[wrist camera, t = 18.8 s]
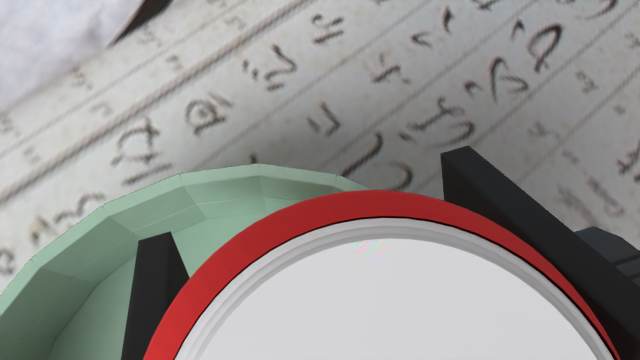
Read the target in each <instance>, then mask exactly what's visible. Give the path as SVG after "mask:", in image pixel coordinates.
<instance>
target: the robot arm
mask: <svg viewBox="0 0 640 360" xmlns="http://www.w3.org/2000/svg"><path fill="white" fill-rule="evenodd" d="M441 165H442V177H443V190H444V201H446V202H449V203H452V204H454V205H457V206H460V207H463V208H466V209H468V210H470V211H472V212H474V213H476V214H479V215H481V216H483V217H485V218H487V219H489V220H491V221H492V222H494V223H496V224H498V225H499V226H501V227H503V228H505V229H506V230H508V231H510V232H511V233H513V234H514V235H515V236H517V237H518V238H520V239H521V240H522V241H524V242H525V243H527V244H528V245H529V246H531V247H532V248H533V249H534V250H536V251H537V252H538V253H539V254H540V255H541V256H543V257H544V258H545V259H546V260H547V261H548V262H550V263H551V264H552V265H553V266H554V267H555V268H556V269H557V270H558V271H559V272H560V273H561V274H562V275H563V276H564V278H565V279H566V280H567V281H568V282H569V283H570V284H571V285H572V286H573V287H574V289H575V290H576V291H577V292H578V294H579V295H580V296H581V297H582V299H583V300H584V301H585V302H586V303H587V305H588V306H589V307H590V309H591V310H592V312H593V313H594V315H595V316H596V318H597V319H598V321H599V322H600V324H601V325H602V327H603V328H604V330H605V331H606V333H607V335H608V337H609V339H610V340H611V342H612V344H613V346H614V348H615V350H616V351H617V353H618V355H619V357H620V359H621V360H640V251H639V250H637V249H636V248H635V247H633V246H632V245H631V244H629V243H628V242H627V241H625V240H624V239H623V238H621V237H619V236H617V235H614V234H612V233H609V232H607V231H604V230H602V229H599V228H597V227H594V226H593V227H590V228H587V229H584V230H581V231H577V232H573V231H571V230H570V229H569V228H568V227H567V226H565V225H564V224H563V223H562V222H561V221H559V220H558V219H557V218H556V217H554V216H553V215H552V214H551V213H550V212H548V211H547V210H546V209H545V208H544V207H542V206H541V205H540V204H539V203H537V202H536V201H535V200H534V199H533V198H531V197H530V196H529V195H528V194H527V193H525V192H524V191H523V190H522V189H521V188H519V187H518V186H517V185H516V184H514V183H513V182H512V181H511V180H510V179H508V178H507V177H506V176H505V175H504V174H502V173H501V172H500V171H499V170H497V169H496V168H495V167H494V166H493V165H491V164H490V163H489V162H488V161H487V160H485V159H484V158H483V157H482V156H480V155H479V154H478V153H477V152H476V151H474V150H473V149H472V148H471V147H470V146H465V147H462V148H458V149H455V150H451V151H448V152H444V153H441ZM189 279H190V277H189V275H188V272H187V270H186V268H185V265H184V263H183V260H182V258H181V255H180V253H179V251H178V248H177V246H176V243H175V241H174V239H173V236H172V234H171V231H170V232H166V233H163V234H159V235H156V236H152V237H149V238H145V239H142V240H139V241H138V248H137V255H136V261H135V268H134V275H133V281H132V288H131V295H130V301H129V308H128V315H127V321H126V328H125V335H124V341H123V348H122V355H121V360H143V358H144V356H145V353H146V351H147V349H148V346H149V344H150V342H151V339H152V337H153V335H154V333H155V331H156V329H157V327H158V326H159V324H160V322H161V320H162V318H163V316H164V314H165V312H166V311H167V309H168V308H169V306H170V305H171V303H172V302H173V300H174V299H175V297H176V296H177V294H178V293H179V291H180V290H181V289H182V287H183V286H184V285H185V284H186V283H187V281H188V280H189Z"/></svg>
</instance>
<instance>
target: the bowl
mask: <svg viewBox="0 0 640 360" xmlns="http://www.w3.org/2000/svg"><path fill="white" fill-rule="evenodd" d="M361 190H372V189H370V188H367V187H365V186H363V185H360V184H358V183H356V182H354V181H351V180H349V179H347V178H344V177H342V176H340V175H336V174H332V173H325V172H318V171H311V170H304V169H297V168H290V167H283V166H276V165H269V164H262V163H260V164H259V163H256V164H248V165H240V166H232V167H225V168H217V169H209V170H201V171H193V172H185V173H181V174H177V175H174V176H172V177H169V178H167V179H165V180H162V181H160V182H157V183H155V184H152V185H150V186H147V187H145V188H142V189H140V190H138V191H135V192H133V193H130V194H128V195H125V196H123V197H120V198H118V199H115V200H113V201H111V202H108V203H106V204H104V205H102V206H100V207H99V208H98V209H96V210H95V211H93V212H92V213H91V214H89V215H88V216H87V217H85V218H84V219H83V220H81V221H80V222H79V223H77V224H76V225H75V226H73V227H72V228H71V229H69V230H68V231H67V232H65V233H64V234H62V235H61V236H60V237H58V238H57V239H56V240H54V241H53V242H52V243H50V244H49V245H48V246H46V247H45V248H44V249H42V250H41V251H40V252H38V253H37V254H36V255H34V256H33V257H32V259H30V260H29V261H28V262H27V263H26V264H25V266H24V267H23V268H22V269H21V270H20V272H19V273H18V274H17V275H16V277H15V278H14V279H13V280H12V281H11V283H10V284H9V285H8V286H7V287H6V289H5V290H4V291H3V292H2V294H1V295H0V360H121V355H122V348H123V341H124V335H125V328H126V321H127V315H128V308H129V301H130V295H131V288H132V281H133V275H134V268H135V261H136V255H137V248H138V241H139V240H142V239H145V238H149V237H152V236H156V235H159V234H163V233H166V232H170V231H171V234H172V236H173V239H174V241H175V243H176V246H177V248H178V251H179V253H180V255H181V258H182V260H183V263H184V265H185V268H186V270H187V272H188V275H189V277H190V278H191V276H192V275H193V274H194V273H195V272H196V270H197V269H198V268H199V267H200V266H201V265H202V264H203V263H204V262H205V261H206V260H207V259H208V258H209V257H210V256H211V255H212V254H213V253H214V252H215V251H217V250H218V249H219V248H220V247H221V246H223V245H224V244H225V243H226V242H228V241H229V240H230V239H231V238H232V237H234V236H235V235H236V234H238V233H239V232H241V231H243V230H244V229H246V228H247V227H249V226H250V225H252V224H253V223H255V222H256V221H258V220H260V219H262V218H264V217H266V216H268V215H270V214H272V213H274V212H276V211H278V210H280V209H283V208H285V207H288V206H290V205H293V204H295V203H298V202H301V201H305V200H308V199H312V198H315V197H319V196H323V195H328V194H334V193H340V192H347V191H361Z"/></svg>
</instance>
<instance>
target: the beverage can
mask: <svg viewBox="0 0 640 360" xmlns="http://www.w3.org/2000/svg"><path fill="white" fill-rule="evenodd" d="M143 360H621V359H620V357H619V355H618V353H617V351H616V350H615V348H614V346H613V344H612V342H611V340H610V339H609V337H608V335H607V333H606V331H605V330H604V328H603V327H602V325H601V324H600V322H599V321H598V319H597V318H596V316H595V315H594V313H593V312H592V310H591V309H590V307H589V306H588V305H587V303H586V302H585V301H584V300H583V299H582V297H581V296H580V295H579V294H578V292H577V291H576V290H575V289H574V287H573V286H572V285H571V284H570V283H569V282H568V281H567V280H566V279H565V278H564V276H563V275H562V274H561V273H560V272H559V271H558V270H557V269H556V268H555V267H554V266H553V265H552V264H551V263H550V262H548V261H547V260H546V259H545V258H544V257H543V256H541V255H540V254H539V253H538V252H537V251H536V250H534V249H533V248H532V247H531V246H529V245H528V244H527V243H525V242H524V241H522V240H521V239H520V238H518V237H517V236H515V235H514V234H513V233H511V232H510V231H508V230H506V229H505V228H503V227H501V226H499V225H498V224H496V223H494V222H492V221H491V220H489V219H487V218H485V217H483V216H481V215H479V214H476V213H474V212H472V211H470V210H468V209H466V208H463V207H460V206H457V205H454V204H452V203H449V202H446V201H443V200H440V199H435V198H431V197H427V196H423V195H419V194H412V193H405V192H398V191H384V190H361V191H347V192H340V193H334V194H328V195H323V196H319V197H315V198H312V199H308V200H305V201H301V202H298V203H295V204H293V205H290V206H288V207H285V208H283V209H280V210H278V211H276V212H274V213H272V214H270V215H268V216H266V217H264V218H262V219H260V220H258V221H256V222H255V223H253V224H252V225H250V226H249V227H247V228H246V229H244V230H243V231H241V232H239V233H238V234H236V235H235V236H234V237H232V238H231V239H230V240H229V241H228V242H226V243H225V244H224V245H223V246H221V247H220V248H219V249H218V250H217V251H215V252H214V253H213V254H212V255H211V256H210V257H209V258H208V259H207V260H206V261H205V262H204V263H203V264H202V265H201V266H200V267H199V268H198V269H197V270H196V272H195V273H194V274H193V275H192V276H191V278H190V279H189V280H188V281H187V283H186V284H185V285H184V286H183V287H182V289H181V290H180V291H179V293H178V294H177V296H176V297H175V299H174V300H173V302H172V303H171V305H170V306H169V308H168V309H167V311H166V312H165V314H164V316H163V318H162V320H161V322H160V324H159V326H158V327H157V329H156V331H155V333H154V335H153V337H152V339H151V342H150V344H149V346H148V349H147V351H146V353H145V356H144V358H143Z"/></svg>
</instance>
